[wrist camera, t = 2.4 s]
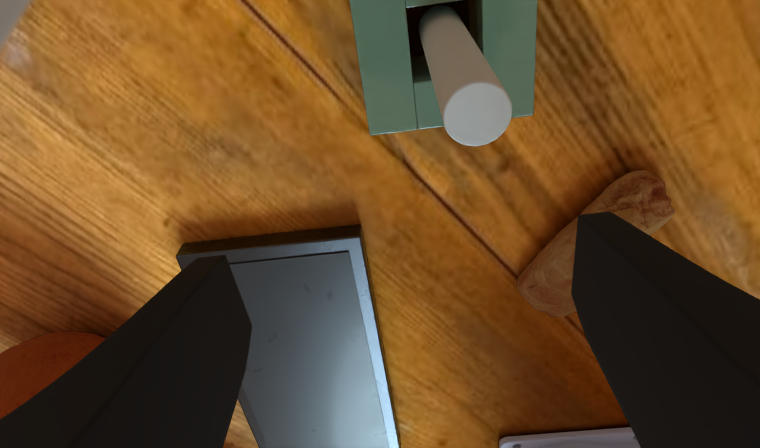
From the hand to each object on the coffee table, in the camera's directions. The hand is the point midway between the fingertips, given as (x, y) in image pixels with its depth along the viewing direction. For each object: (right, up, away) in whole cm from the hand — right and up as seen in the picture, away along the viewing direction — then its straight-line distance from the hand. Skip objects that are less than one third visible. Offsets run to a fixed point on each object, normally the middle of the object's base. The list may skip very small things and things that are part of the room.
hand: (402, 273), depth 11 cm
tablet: (-4, -6, +16) cm, 18 cm away
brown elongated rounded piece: (+9, 0, +12) cm, 15 cm away
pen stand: (+1, +8, +7) cm, 11 cm away
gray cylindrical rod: (+1, +8, +7) cm, 11 cm away
